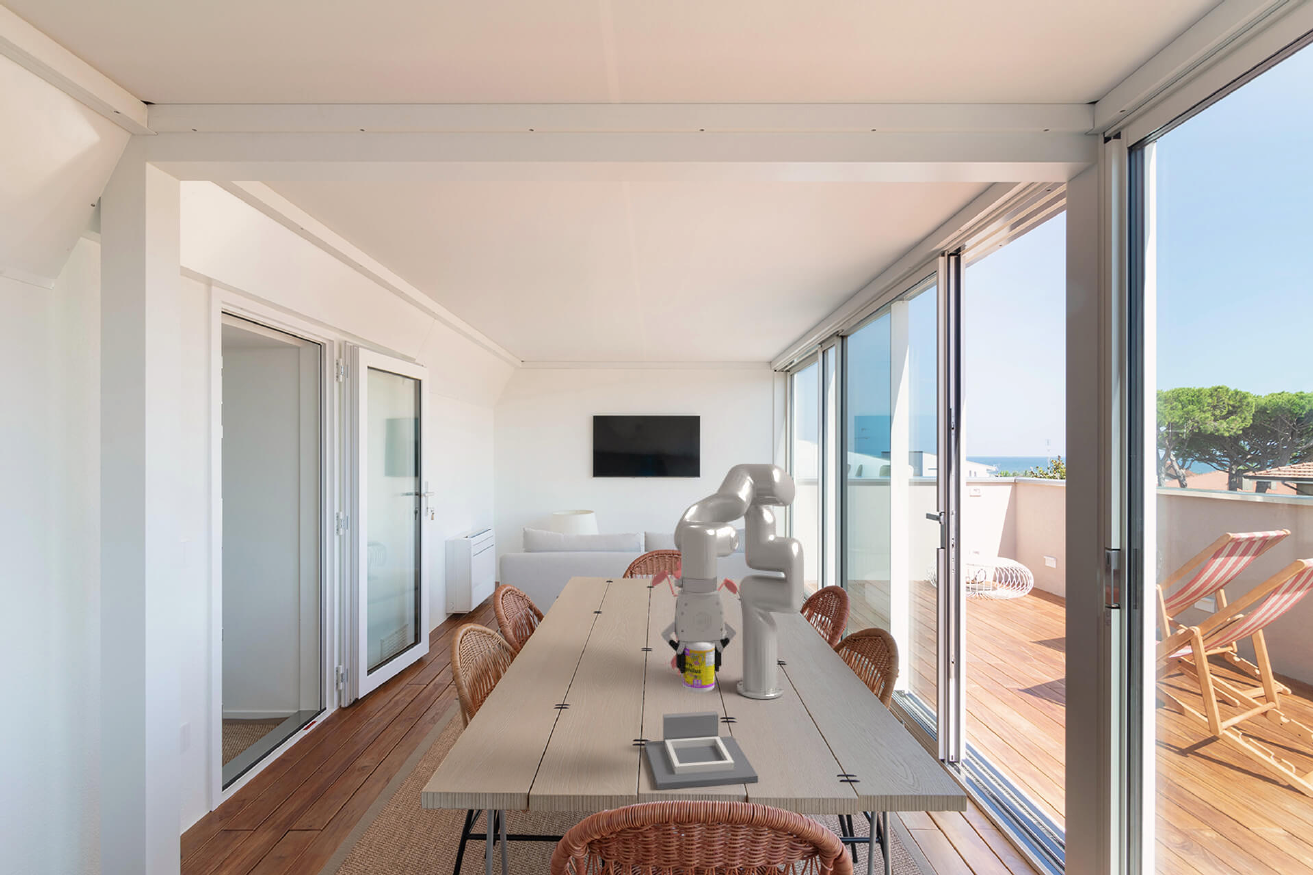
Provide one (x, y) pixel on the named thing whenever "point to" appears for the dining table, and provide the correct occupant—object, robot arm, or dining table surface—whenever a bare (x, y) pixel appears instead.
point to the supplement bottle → (699, 666)
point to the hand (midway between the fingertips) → (698, 669)
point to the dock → (696, 754)
